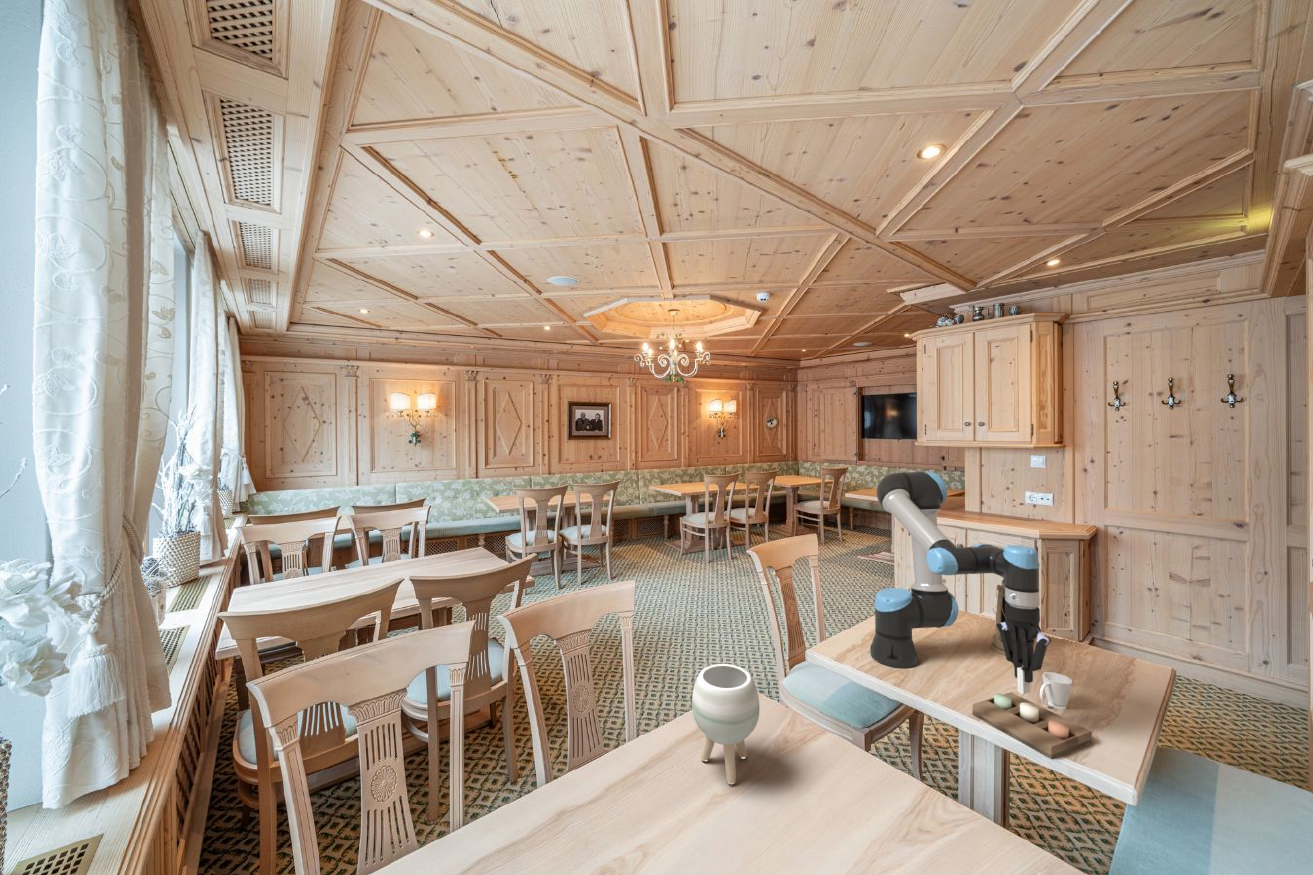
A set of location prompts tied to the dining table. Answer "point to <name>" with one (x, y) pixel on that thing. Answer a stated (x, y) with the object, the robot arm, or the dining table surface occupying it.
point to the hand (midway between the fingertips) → (1023, 691)
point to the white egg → (1029, 712)
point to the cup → (1056, 689)
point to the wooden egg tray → (1032, 727)
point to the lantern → (999, 619)
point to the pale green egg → (1002, 701)
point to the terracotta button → (1058, 729)
